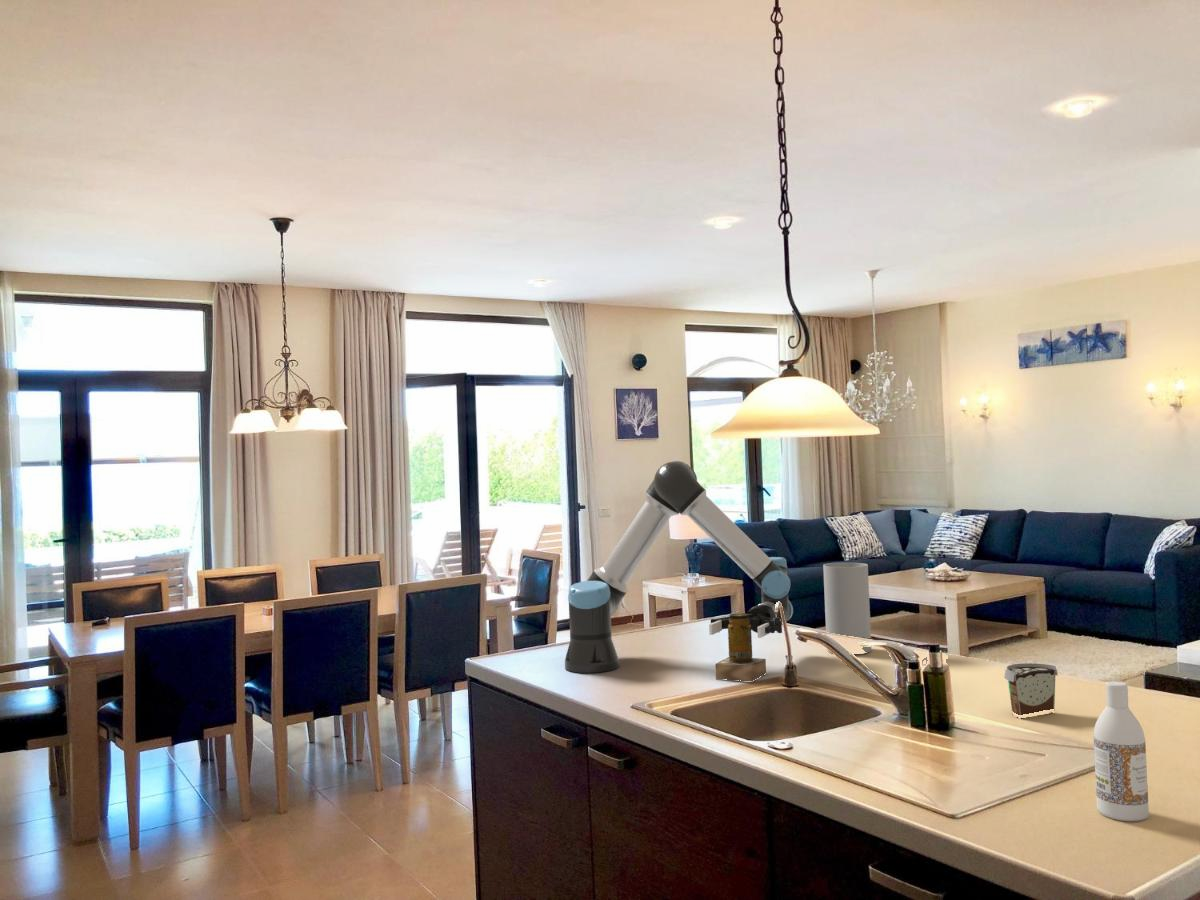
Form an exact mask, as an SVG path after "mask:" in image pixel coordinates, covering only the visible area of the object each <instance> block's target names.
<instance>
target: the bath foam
mask: <svg viewBox="0 0 1200 900" xmlns="http://www.w3.org/2000/svg"><path fill="white" fill-rule="evenodd" d="M1128 689H1129V688H1128V684H1127V683H1126V682H1123V681H1117V680H1116V681H1115V680H1113V681H1107V682H1105V694H1106V695H1105V696H1106V706H1105V708H1104V709H1103V711H1101V713H1100V715H1099V717H1098V718H1097V719H1096V722H1095V724H1094V728H1093V729H1094V730H1093V751H1094V752H1093V753H1094V770H1095V771H1094V775H1095V792H1096V795H1095V796H1096V808H1097V811H1098V812H1099V813H1100V814H1101V815H1103V816H1105V817H1107V818H1109V819H1113V820H1116V821H1123V822H1141V821H1144V820H1146V819H1147V818H1148V817H1149V813H1150V812H1149V811H1150V808H1149V793H1148V792H1149V789H1148V788H1149V787H1148V786H1149V785H1148V766H1147V764H1148V763H1147V748H1146V746H1147V745H1146V737H1145V732H1144V729H1143V727H1142V725H1141V724H1140V722H1139V720H1138V719H1137V717H1136V716H1135V714H1134V713H1133V712H1132V710H1131V709H1130V706H1129V694H1128V693H1129V692H1128V691H1129V690H1128Z"/></svg>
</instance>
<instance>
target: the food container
mask: <svg viewBox="0 0 1200 900" xmlns="http://www.w3.org/2000/svg"><path fill="white" fill-rule="evenodd" d="M1004 671H1005V672H1004V676H1003V677H1004V679H1005V680H1007V683H1008V690H1009V698H1010V704H1011V712H1012V711H1013V712H1014V713H1016V714H1018V715H1023V714H1029V713H1034V712H1039V711H1043V710H1050V709H1054V710H1055V704H1056V701H1055V699H1056V698H1055V697H1056V676H1059V675H1058V669H1057V668H1056V665H1053V664H1046V663H1034V662H1033V663H1032V662H1027V663H1026V662H1024V663H1022V662H1021V663H1015V664H1014V663H1013V664H1010V665H1007V666H1006V669H1004Z"/></svg>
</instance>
